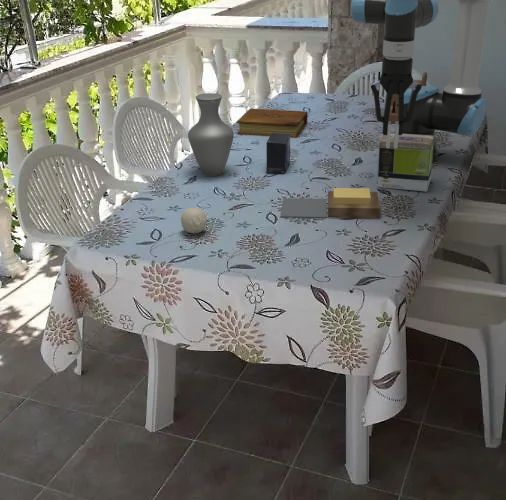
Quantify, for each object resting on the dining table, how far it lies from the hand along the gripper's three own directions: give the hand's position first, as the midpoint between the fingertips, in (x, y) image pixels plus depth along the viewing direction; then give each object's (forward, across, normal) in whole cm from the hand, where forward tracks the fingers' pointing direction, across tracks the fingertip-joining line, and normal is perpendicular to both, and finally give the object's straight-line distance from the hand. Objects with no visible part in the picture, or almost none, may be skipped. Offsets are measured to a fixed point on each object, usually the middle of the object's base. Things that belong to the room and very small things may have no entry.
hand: (391, 146), depth 185 cm
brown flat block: (+18, -10, 0) cm, 21 cm away
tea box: (+19, +6, +20) cm, 28 cm away
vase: (+19, -54, +28) cm, 63 cm away
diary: (+19, -38, +77) cm, 88 cm away
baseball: (+19, -52, -17) cm, 57 cm away
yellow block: (+15, -10, 0) cm, 18 cm away
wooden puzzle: (+19, +15, +92) cm, 96 cm away
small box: (+19, -32, +33) cm, 50 cm away
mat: (+18, -23, 0) cm, 30 cm away
